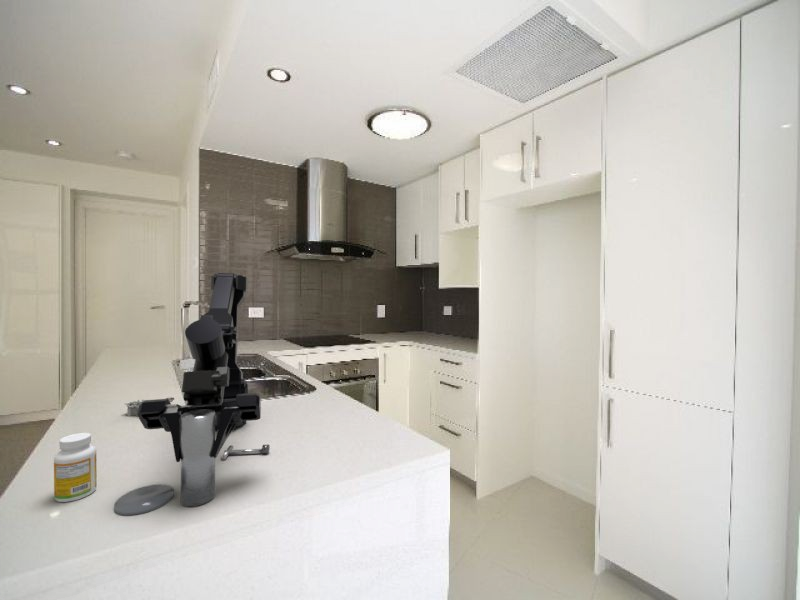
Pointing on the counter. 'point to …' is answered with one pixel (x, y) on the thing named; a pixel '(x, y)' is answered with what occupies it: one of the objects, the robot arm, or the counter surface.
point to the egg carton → (135, 405)
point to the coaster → (143, 499)
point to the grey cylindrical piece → (197, 457)
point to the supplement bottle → (75, 468)
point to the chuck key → (245, 451)
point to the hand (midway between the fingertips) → (196, 459)
